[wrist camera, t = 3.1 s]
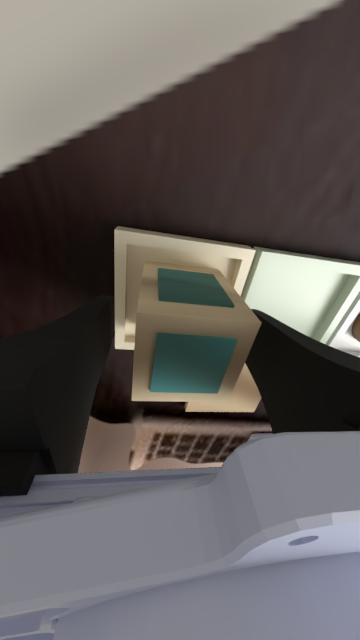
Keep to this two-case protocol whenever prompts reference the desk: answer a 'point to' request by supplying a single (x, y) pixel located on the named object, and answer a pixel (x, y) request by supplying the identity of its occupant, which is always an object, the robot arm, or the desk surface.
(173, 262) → the tray sand
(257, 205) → the desk surface
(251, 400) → the cork pad
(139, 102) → the desk surface
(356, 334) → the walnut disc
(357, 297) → the tray white
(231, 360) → the beige block teal panels
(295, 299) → the tray sage
